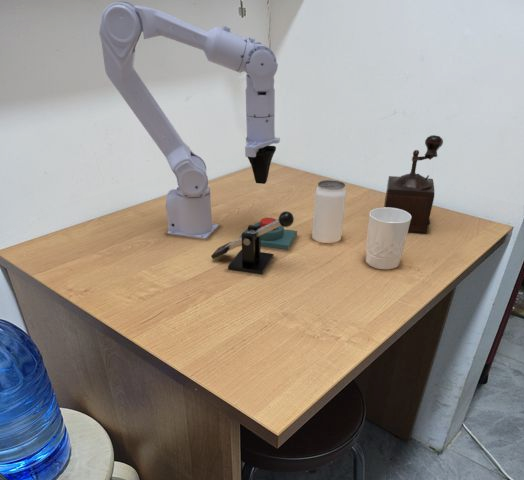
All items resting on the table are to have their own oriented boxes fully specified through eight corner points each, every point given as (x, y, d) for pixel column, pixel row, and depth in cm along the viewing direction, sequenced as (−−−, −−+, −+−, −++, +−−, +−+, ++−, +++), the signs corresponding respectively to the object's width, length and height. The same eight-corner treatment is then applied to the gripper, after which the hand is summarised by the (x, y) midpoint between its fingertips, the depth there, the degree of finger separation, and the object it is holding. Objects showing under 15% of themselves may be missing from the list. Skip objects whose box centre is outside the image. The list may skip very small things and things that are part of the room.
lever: (215, 263, 97) (208, 251, 96) (222, 255, 100) (215, 243, 99) (293, 226, 88) (286, 213, 87) (298, 218, 91) (291, 205, 90)
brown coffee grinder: (430, 234, 110) (449, 151, 99) (380, 229, 112) (393, 147, 101) (427, 210, 122) (444, 133, 112) (382, 206, 124) (395, 130, 113)
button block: (238, 244, 105) (238, 230, 103) (249, 230, 111) (249, 217, 109) (287, 251, 102) (288, 237, 100) (296, 236, 108) (297, 222, 107)
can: (339, 246, 105) (346, 190, 98) (310, 243, 106) (314, 188, 99) (342, 234, 110) (348, 180, 103) (313, 231, 111) (317, 178, 104)
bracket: (228, 270, 95) (226, 236, 91) (241, 253, 101) (240, 220, 97) (262, 275, 94) (262, 240, 89) (273, 258, 100) (274, 224, 95)
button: (257, 230, 104) (258, 222, 103) (262, 224, 107) (262, 216, 106) (274, 232, 103) (274, 224, 102) (278, 226, 106) (278, 218, 105)
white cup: (404, 257, 101) (413, 210, 95) (399, 274, 95) (409, 225, 89) (365, 251, 103) (372, 205, 97) (359, 267, 97) (366, 219, 91)
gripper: (269, 123, 91) (269, 195, 99) (288, 108, 102) (287, 174, 111) (234, 121, 93) (237, 192, 101) (256, 106, 104) (257, 171, 112)
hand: (261, 182), depth 106 cm, fingers closed
